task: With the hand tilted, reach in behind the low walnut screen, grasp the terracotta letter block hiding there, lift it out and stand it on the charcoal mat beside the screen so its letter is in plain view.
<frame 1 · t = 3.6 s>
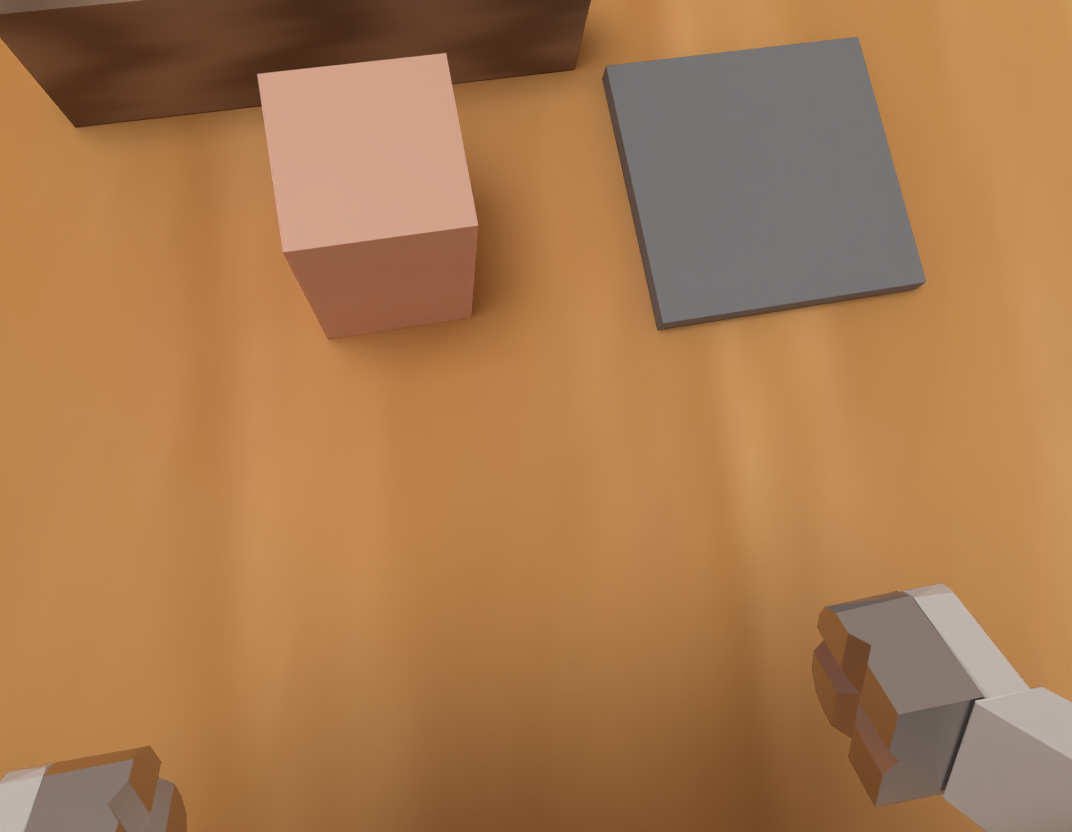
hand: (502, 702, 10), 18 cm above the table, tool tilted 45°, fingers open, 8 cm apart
walnut screen: (330, 72, 31), on the table
charcoal mat: (757, 183, 32), on the table
letter block: (389, 261, 30), on the table
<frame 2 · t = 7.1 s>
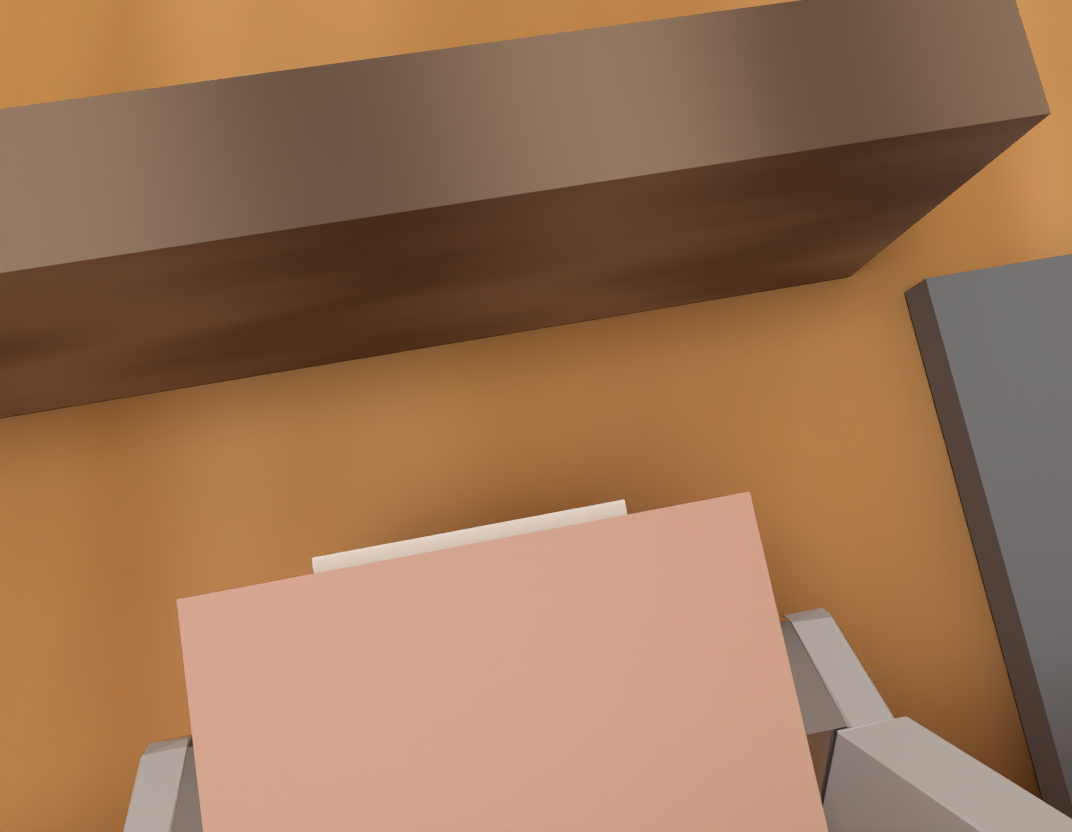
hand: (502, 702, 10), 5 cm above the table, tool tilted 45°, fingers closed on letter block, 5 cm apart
walnut screen: (381, 302, 16), on the table
letter block: (505, 700, 15), on the table, touching gripper
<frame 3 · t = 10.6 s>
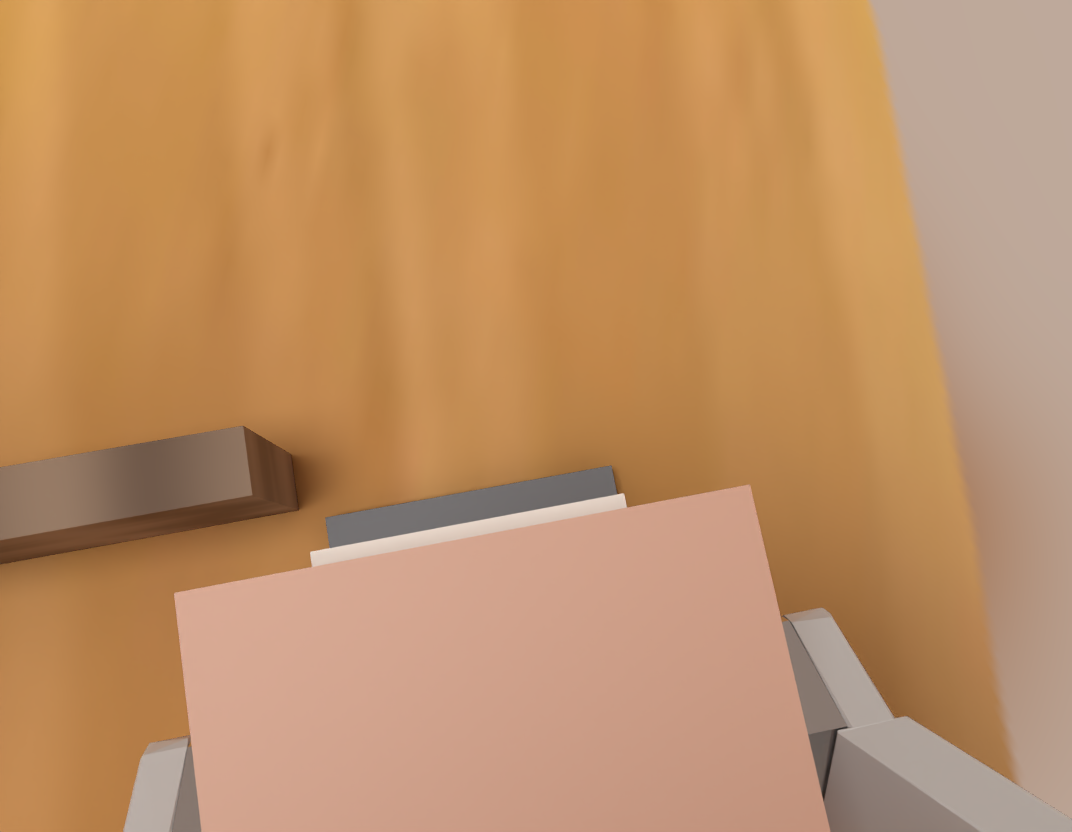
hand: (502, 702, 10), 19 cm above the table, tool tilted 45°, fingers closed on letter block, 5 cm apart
walnut screen: (30, 529, 29), on the table
charcoal mat: (495, 635, 29), on the table
letter block: (504, 697, 15), point 15 cm above the table, touching gripper
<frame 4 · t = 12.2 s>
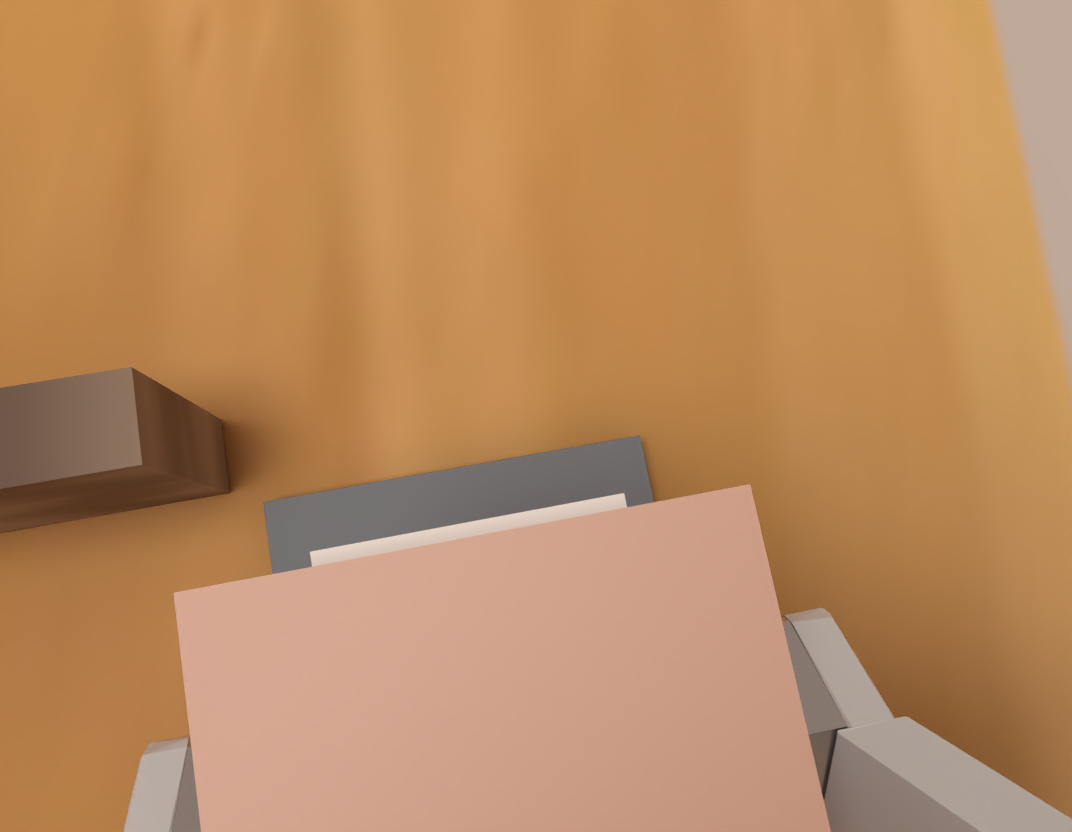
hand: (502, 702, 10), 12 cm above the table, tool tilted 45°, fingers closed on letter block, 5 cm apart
charcoal mat: (488, 658, 22), on the table
letter block: (504, 697, 15), point 8 cm above the table, touching gripper
when the fingers open (7 cm above the table, at t = 13.9 s): letter block drops 1 cm, resting on charcoal mat.
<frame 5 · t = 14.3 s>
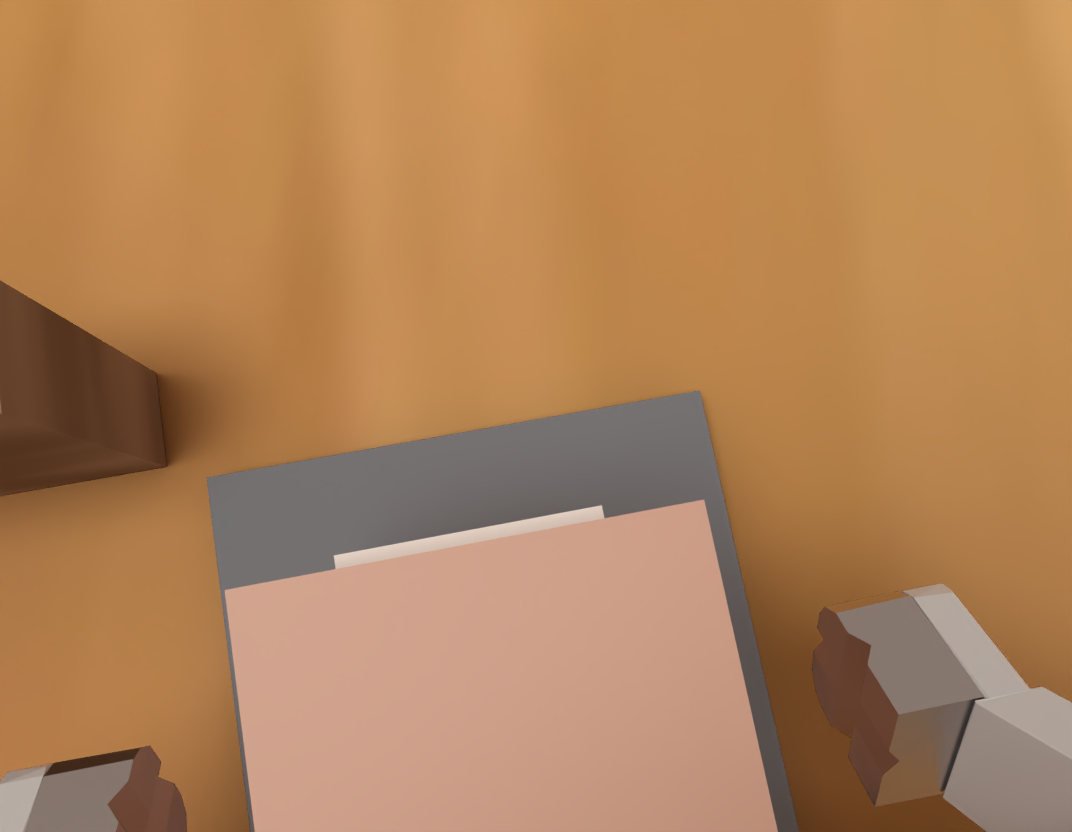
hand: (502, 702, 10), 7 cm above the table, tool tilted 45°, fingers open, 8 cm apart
charcoal mat: (503, 682, 17), on the table
letter block: (501, 686, 16), point 1 cm above the table, touching charcoal mat
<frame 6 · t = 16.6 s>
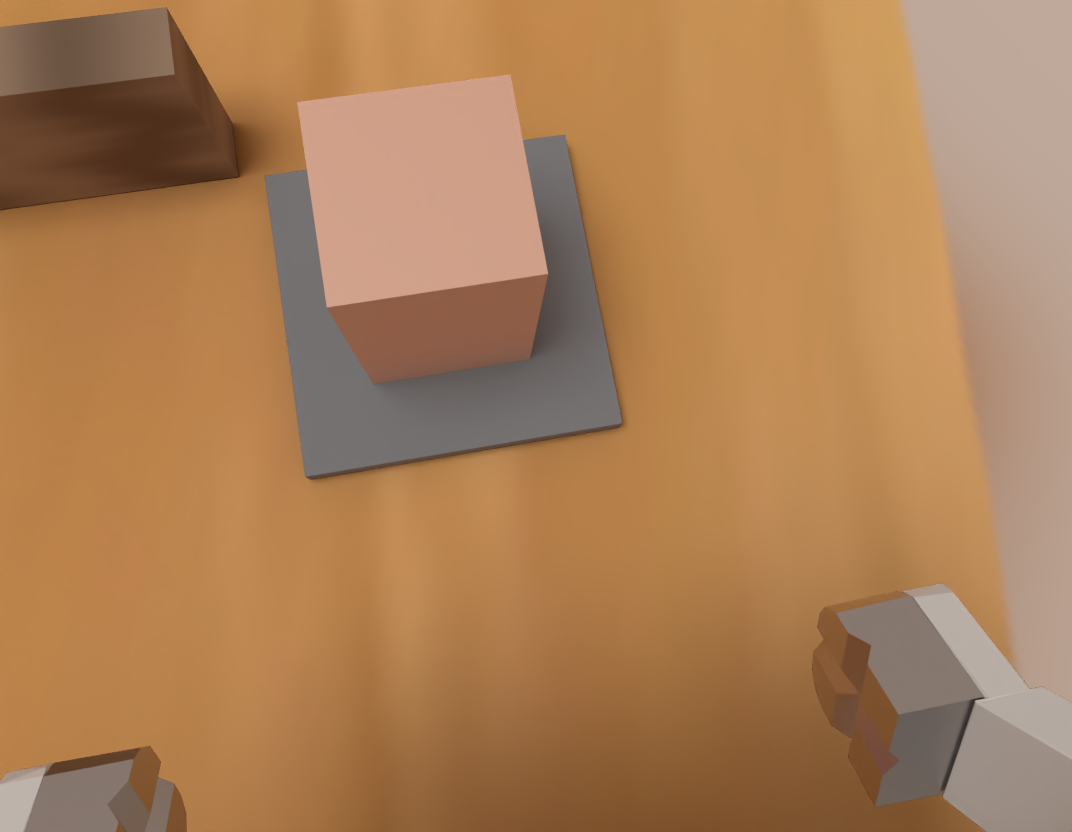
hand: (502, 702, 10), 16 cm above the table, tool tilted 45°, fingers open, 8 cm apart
charcoal mat: (442, 305, 28), on the table
letter block: (439, 297, 27), point 1 cm above the table, touching charcoal mat
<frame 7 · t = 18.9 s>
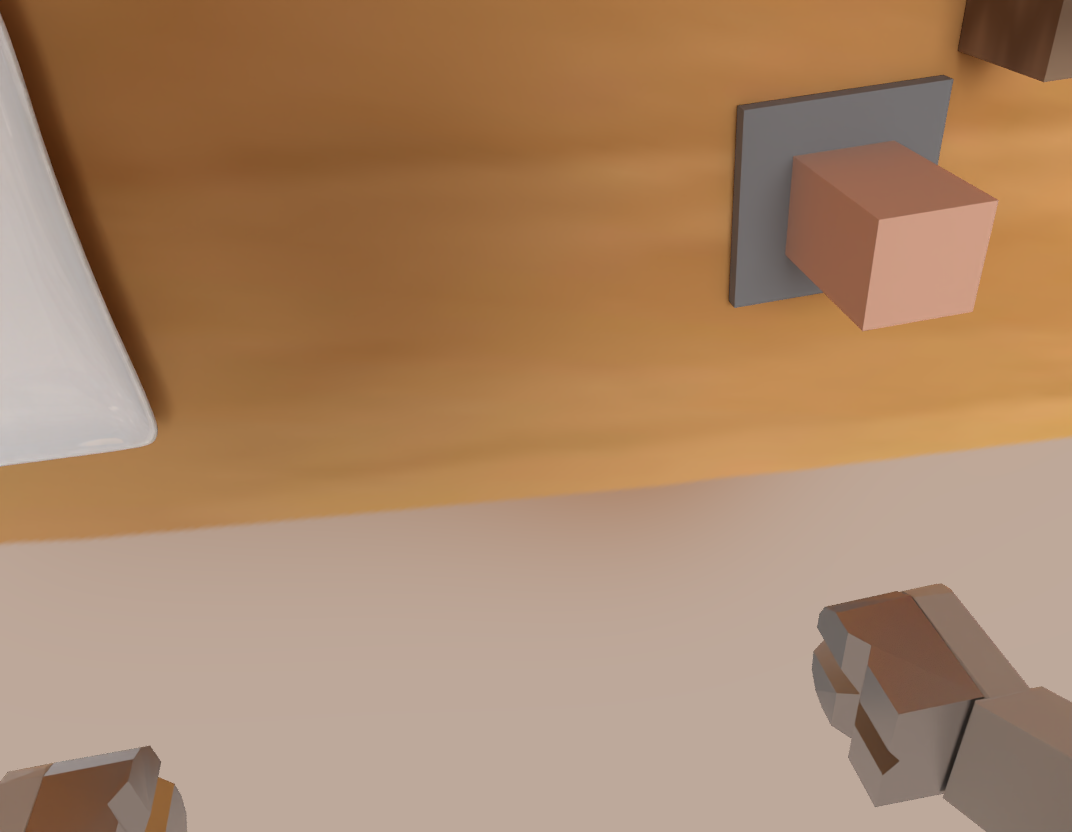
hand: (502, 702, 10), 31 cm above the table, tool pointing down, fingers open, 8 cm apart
charcoal mat: (829, 194, 42), on the table
letter block: (838, 199, 41), point 1 cm above the table, touching charcoal mat
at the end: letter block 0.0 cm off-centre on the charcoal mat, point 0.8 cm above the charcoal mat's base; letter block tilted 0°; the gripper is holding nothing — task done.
